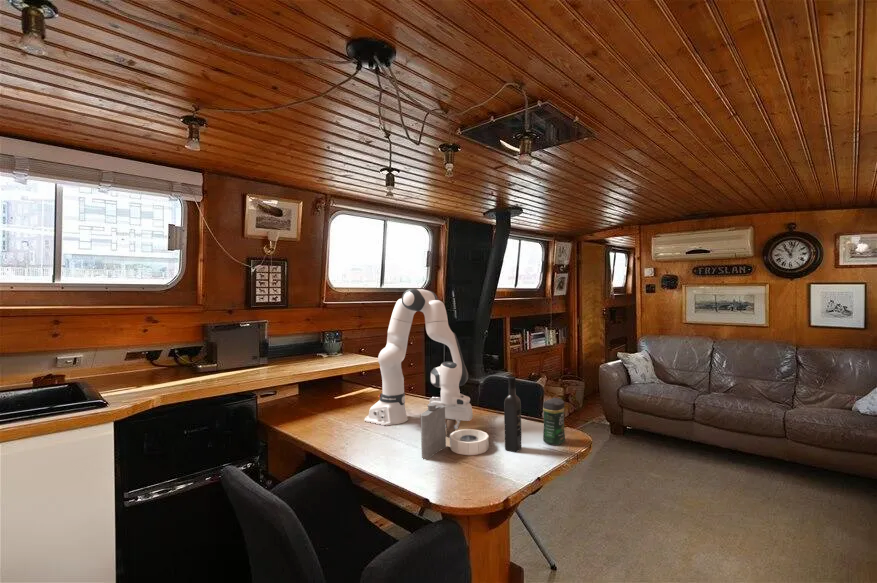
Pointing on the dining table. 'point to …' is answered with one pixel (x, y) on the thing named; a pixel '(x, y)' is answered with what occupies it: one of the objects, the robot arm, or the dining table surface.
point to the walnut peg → (450, 426)
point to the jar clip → (469, 438)
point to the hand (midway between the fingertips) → (450, 428)
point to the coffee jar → (554, 421)
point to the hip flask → (433, 430)
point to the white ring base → (469, 447)
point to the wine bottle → (512, 418)
